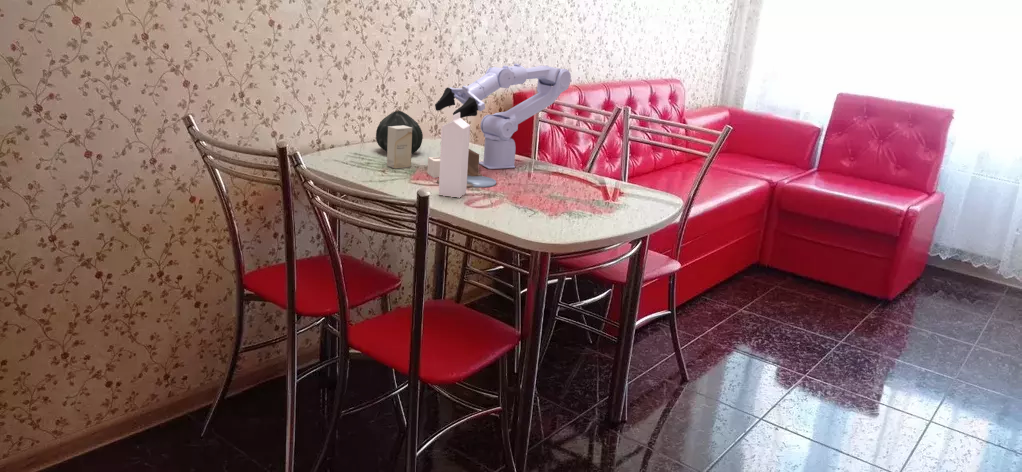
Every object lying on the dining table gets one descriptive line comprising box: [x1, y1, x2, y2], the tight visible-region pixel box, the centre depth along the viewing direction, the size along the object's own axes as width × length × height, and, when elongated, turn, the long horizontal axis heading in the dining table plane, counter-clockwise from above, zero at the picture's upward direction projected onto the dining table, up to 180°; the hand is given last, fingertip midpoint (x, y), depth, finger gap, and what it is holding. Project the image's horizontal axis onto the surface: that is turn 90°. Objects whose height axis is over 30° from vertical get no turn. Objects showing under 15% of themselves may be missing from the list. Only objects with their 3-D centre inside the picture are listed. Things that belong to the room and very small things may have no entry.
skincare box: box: [386, 125, 412, 169], centre depth 224 cm, size 6×4×12 cm
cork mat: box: [436, 179, 474, 189], centre depth 211 cm, size 8×8×1 cm
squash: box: [375, 110, 424, 155], centre depth 241 cm, size 14×15×15 cm
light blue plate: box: [467, 175, 497, 189], centre depth 215 cm, size 11×11×1 cm
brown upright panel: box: [467, 148, 483, 176], centre depth 224 cm, size 4×13×7 cm, turn 27°
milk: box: [438, 112, 471, 199], centre depth 198 cm, size 6×6×22 cm
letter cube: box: [427, 156, 440, 179], centre depth 219 cm, size 5×5×5 cm
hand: (445, 112), depth 215 cm, fingers open, 7 cm apart
